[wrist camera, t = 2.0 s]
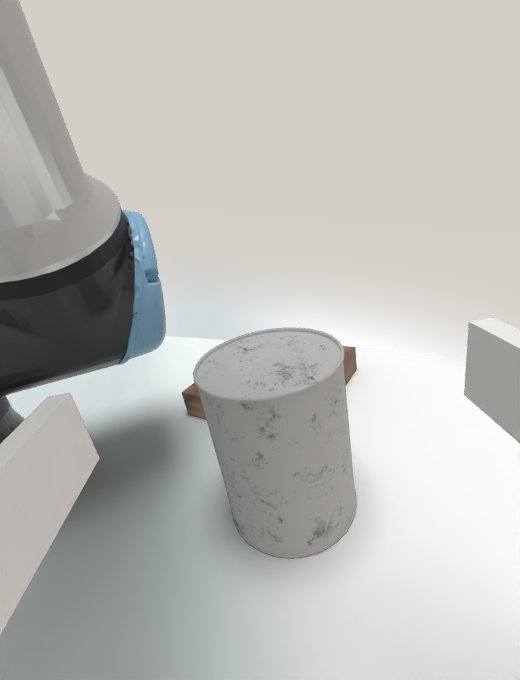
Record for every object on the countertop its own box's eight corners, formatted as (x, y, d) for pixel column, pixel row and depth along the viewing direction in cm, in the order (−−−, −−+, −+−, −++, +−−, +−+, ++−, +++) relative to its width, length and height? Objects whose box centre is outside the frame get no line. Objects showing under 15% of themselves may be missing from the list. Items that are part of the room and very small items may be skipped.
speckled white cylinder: (220, 560, 23) (171, 407, 18) (241, 457, 31) (211, 336, 27) (368, 557, 21) (356, 389, 16) (347, 450, 30) (335, 320, 25)
